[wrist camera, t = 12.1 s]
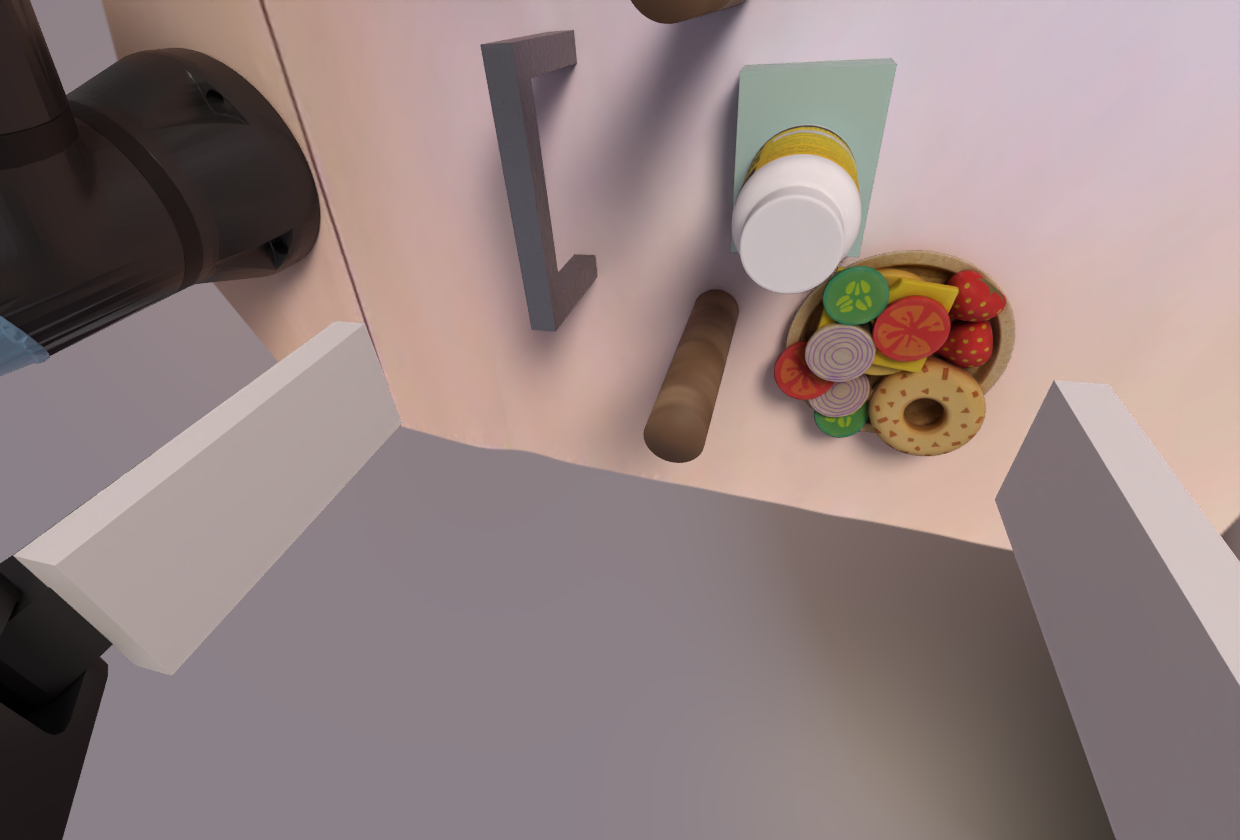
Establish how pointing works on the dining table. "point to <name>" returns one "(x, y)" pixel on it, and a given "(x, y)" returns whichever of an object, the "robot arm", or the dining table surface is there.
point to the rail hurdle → (533, 172)
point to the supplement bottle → (797, 209)
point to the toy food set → (900, 350)
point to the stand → (816, 113)
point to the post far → (693, 380)
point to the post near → (680, 8)
